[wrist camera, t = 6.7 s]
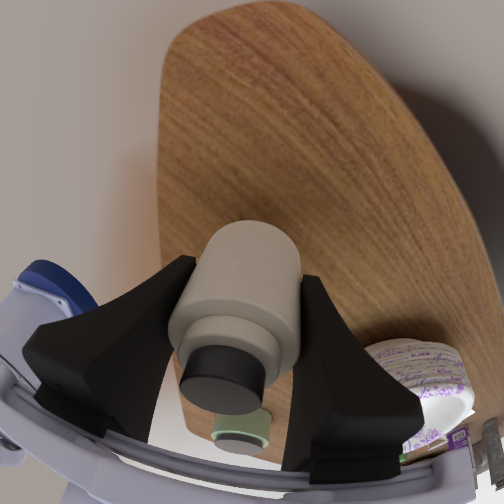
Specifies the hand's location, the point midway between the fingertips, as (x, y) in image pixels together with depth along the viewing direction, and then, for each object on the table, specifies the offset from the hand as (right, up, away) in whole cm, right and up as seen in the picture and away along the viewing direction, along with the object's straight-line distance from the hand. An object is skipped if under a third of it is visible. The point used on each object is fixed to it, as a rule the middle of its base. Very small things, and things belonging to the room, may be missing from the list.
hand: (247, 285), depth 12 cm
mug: (+62, -51, +30) cm, 86 cm away
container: (+40, -33, +22) cm, 56 cm away
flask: (+54, -38, +23) cm, 70 cm away
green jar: (-1, -20, +21) cm, 29 cm away
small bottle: (0, +1, +1) cm, 2 cm away
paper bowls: (+13, -10, +13) cm, 21 cm away
